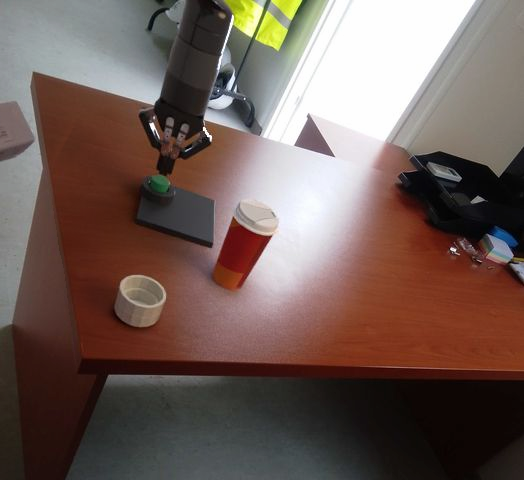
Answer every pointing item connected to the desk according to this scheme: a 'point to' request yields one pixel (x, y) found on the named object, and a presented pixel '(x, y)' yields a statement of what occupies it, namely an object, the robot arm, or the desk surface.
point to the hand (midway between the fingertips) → (163, 173)
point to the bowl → (139, 300)
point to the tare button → (159, 183)
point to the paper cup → (244, 242)
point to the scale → (177, 213)
